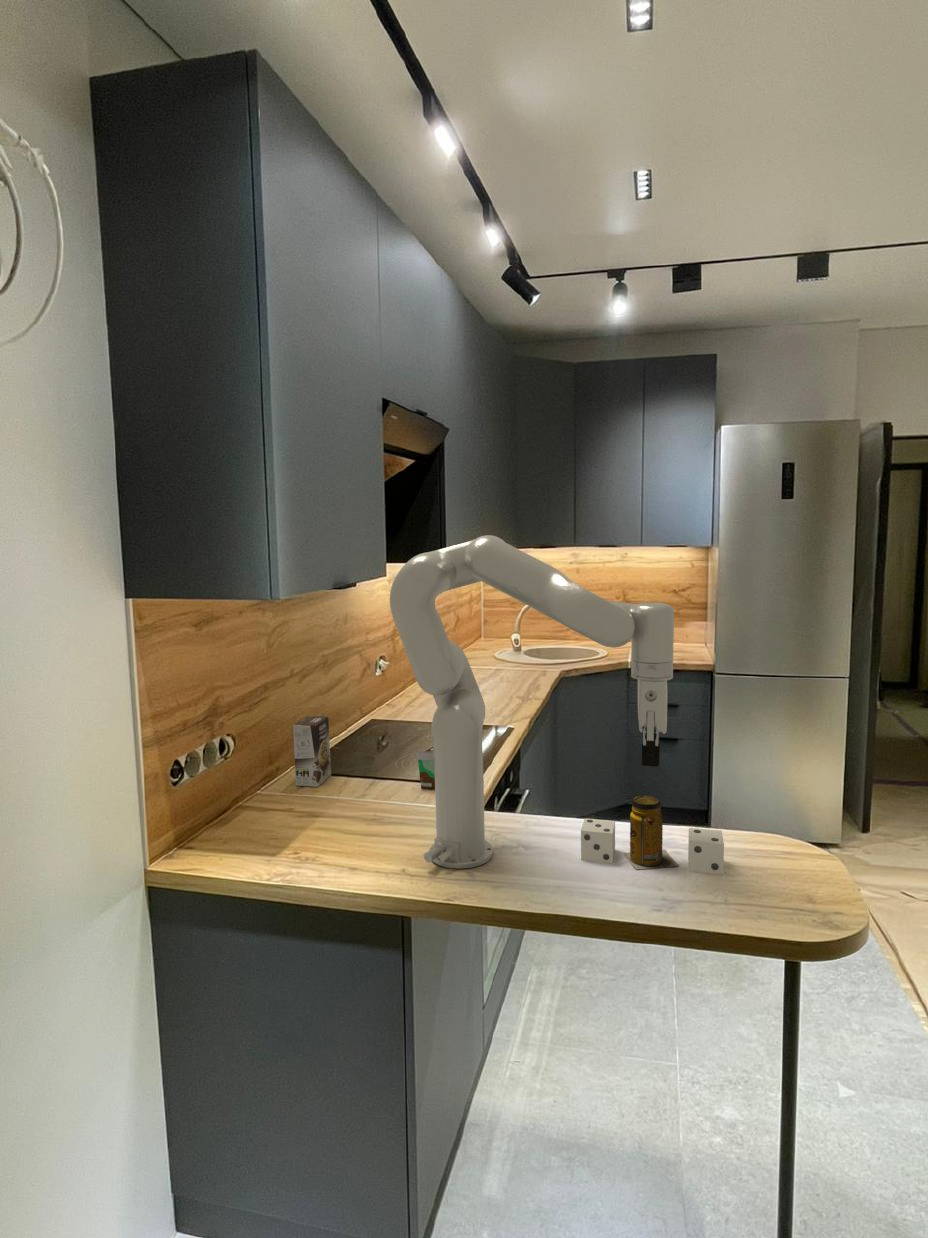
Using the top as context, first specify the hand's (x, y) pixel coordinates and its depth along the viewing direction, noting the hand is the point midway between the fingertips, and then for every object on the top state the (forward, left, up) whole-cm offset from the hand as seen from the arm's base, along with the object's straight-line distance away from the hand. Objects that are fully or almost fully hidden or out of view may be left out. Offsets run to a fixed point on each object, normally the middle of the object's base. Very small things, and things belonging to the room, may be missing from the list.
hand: (650, 764), depth 136 cm
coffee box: (-1, +89, -19) cm, 91 cm away
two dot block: (+3, -10, -19) cm, 22 cm away
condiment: (0, 0, -19) cm, 19 cm away
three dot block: (-3, +9, -19) cm, 21 cm away
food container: (+13, +58, -19) cm, 63 cm away
